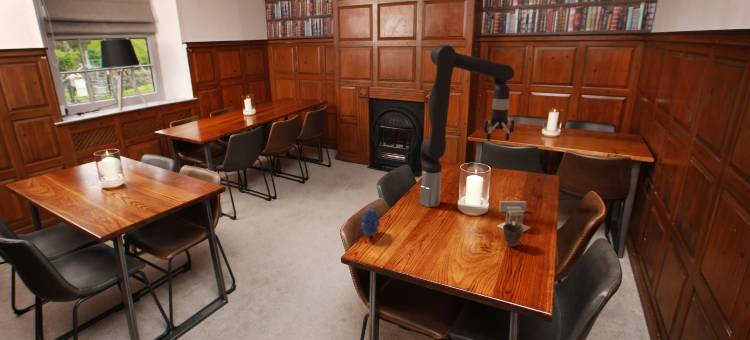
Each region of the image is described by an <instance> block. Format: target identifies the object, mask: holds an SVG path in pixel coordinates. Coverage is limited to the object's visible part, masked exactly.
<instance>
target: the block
mask: <svg viewBox="0 0 750 340" xmlns="http://www.w3.org/2000/svg"><path fill="white" fill-rule="evenodd" d="M507 207H520V208H521V209H522V210H523V211H524V213H526V211H527V210H526V209H527V201H526V200H500V201H499V207H498V211H499V213H506V211H507Z"/></svg>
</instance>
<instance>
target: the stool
mask: <svg viewBox="0 0 750 340" xmlns="http://www.w3.org/2000/svg"><path fill="white" fill-rule="evenodd" d="M505 213H506V214H505V221H504V222H505V224H506V225H507V224H508V223H509V224H511V223H513V221H515V224H517V225H520V226H521V227H522V224H523V223H524V214H525V212H524V211H523V210H522V209H521V208H520V207H507V211H506V212H505ZM514 216H515V220H514ZM523 225H524V224H523Z"/></svg>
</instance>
